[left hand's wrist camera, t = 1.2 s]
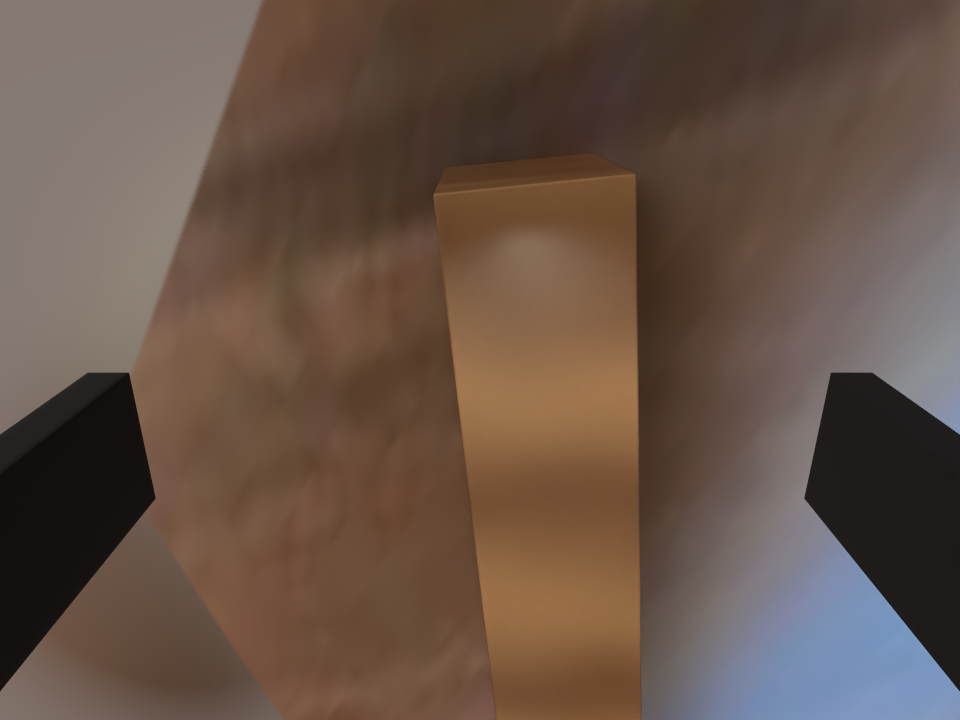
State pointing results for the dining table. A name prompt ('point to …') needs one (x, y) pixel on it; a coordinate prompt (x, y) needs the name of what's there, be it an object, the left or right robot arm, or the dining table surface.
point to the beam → (550, 424)
